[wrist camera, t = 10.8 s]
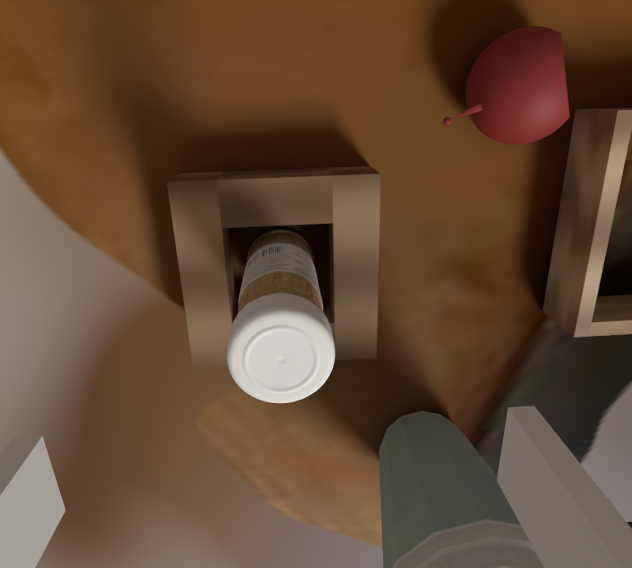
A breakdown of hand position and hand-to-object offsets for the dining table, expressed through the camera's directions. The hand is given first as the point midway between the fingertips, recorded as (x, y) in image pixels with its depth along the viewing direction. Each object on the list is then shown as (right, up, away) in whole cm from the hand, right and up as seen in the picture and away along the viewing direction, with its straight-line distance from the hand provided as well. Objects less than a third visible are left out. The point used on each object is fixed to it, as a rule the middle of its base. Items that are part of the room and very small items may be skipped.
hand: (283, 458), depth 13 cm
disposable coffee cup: (+9, -8, +25) cm, 27 cm away
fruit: (+11, +17, +16) cm, 25 cm away
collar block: (-1, +7, +18) cm, 19 cm away
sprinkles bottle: (-1, +7, +18) cm, 20 cm away
